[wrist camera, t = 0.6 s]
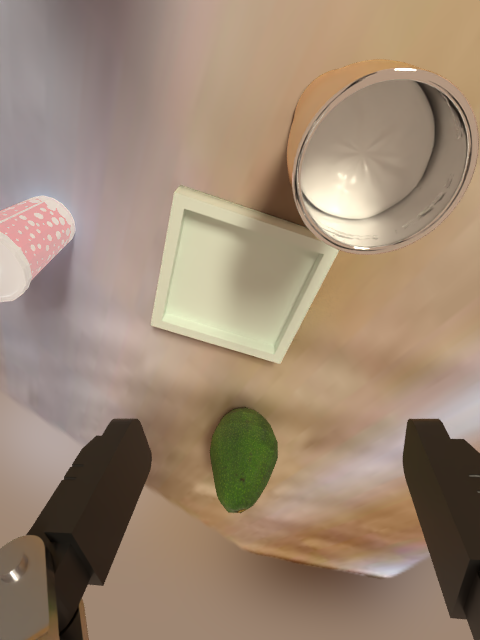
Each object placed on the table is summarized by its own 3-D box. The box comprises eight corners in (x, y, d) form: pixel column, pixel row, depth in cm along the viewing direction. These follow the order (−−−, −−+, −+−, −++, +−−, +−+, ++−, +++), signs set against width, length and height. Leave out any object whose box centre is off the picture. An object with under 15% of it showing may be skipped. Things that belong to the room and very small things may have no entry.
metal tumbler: (308, 187, 28) (323, 282, 16) (271, 96, 25) (255, 128, 13) (398, 144, 25) (497, 218, 13) (371, 35, 22) (471, 5, 10)
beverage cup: (16, 235, 33) (-120, 323, 22) (17, 174, 30) (-144, 242, 19) (79, 261, 34) (-21, 357, 23) (88, 204, 31) (-26, 286, 20)
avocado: (222, 433, 49) (206, 525, 39) (212, 395, 44) (192, 488, 34) (280, 434, 47) (278, 529, 38) (276, 394, 43) (273, 491, 33)
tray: (180, 185, 29) (174, 192, 27) (337, 237, 30) (340, 247, 28) (156, 314, 37) (150, 325, 36) (280, 351, 38) (280, 363, 37)
